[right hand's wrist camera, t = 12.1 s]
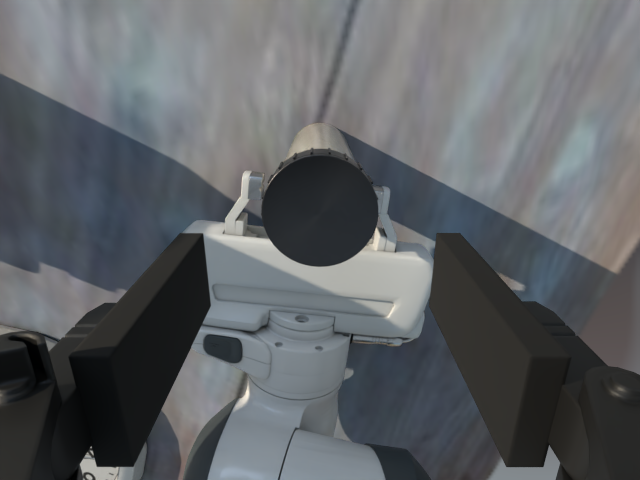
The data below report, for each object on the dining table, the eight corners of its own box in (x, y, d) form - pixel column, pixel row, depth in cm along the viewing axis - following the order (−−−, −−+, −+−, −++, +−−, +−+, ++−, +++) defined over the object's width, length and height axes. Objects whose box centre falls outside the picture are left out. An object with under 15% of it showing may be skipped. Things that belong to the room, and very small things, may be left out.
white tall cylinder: (331, 111, 35) (341, 139, 19) (359, 163, 37) (389, 229, 21) (280, 141, 36) (248, 191, 20) (309, 191, 38) (301, 275, 22)
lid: (342, 125, 21) (344, 129, 19) (393, 222, 22) (400, 235, 20) (244, 181, 22) (236, 191, 20) (300, 270, 23) (298, 286, 21)
